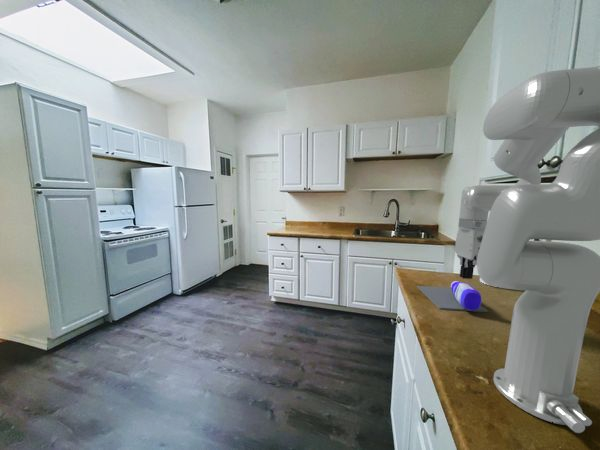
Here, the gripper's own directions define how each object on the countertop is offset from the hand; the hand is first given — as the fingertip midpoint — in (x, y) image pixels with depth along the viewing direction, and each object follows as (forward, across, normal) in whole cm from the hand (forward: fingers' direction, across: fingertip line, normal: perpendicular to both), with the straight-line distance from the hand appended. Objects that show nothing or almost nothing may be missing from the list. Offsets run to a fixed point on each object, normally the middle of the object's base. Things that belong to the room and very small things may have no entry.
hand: (465, 277), depth 80 cm
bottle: (+8, -2, -2) cm, 8 cm away
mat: (+12, +11, -1) cm, 16 cm away
